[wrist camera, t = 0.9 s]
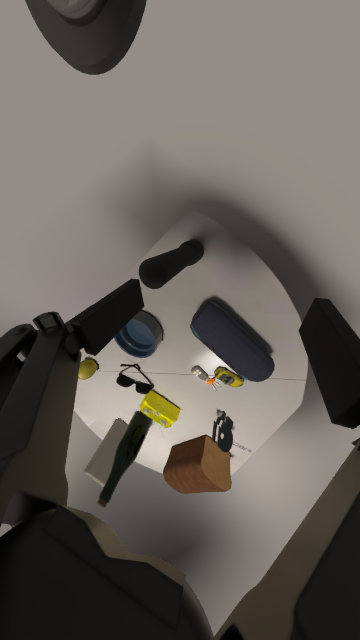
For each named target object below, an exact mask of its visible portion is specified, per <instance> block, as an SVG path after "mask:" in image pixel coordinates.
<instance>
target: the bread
mask: <svg viewBox="0 0 360 640" xmlns="http://www.w3.org/2000/svg"><path fill="white" fill-rule="evenodd" d="M163 475H164V479H165V481H166V482H167V483H168V484H169V485H170V486H171V487H172V488H173V489H175V490H177V491H178V492H180V493H185V494H187V493H200V492H224V491H227V490H229V489H231V476H230V453H229V452H226V453H225V452H223V451H221V449H220V448H219V447H218V446H217V443H216V442H215V443H214V442H213V441H212V439H211V438H210V437H208V436H202V437H199V438H196V439H193V440H190V441H188V442H184V443H181V444H179V445H176V446H173V447H172V448H171V452H170V455H169V458H168V460H167V463H166V465H165V467H164V470H163Z"/></svg>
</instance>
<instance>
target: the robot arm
mask: <svg viewBox="0 0 360 640" xmlns="http://www.w3.org/2000/svg"><path fill="white" fill-rule="evenodd" d="M47 1H48V3H49V4H50V5H51V6H52V7H53V9H54V10H55V11H56V12H57V13H58V15H59V16H60V17H61V18H63V19H64V20H65V21H66V22H68V23H70V24H72V25H76V26H83V25H87V24H89V23H90V22H92V21H93V20H94V19H95V18H96V17H97V16H98V15H99V14H100V12H101V11H102V9H103V8H104V6H105V4H106V2H107V0H47ZM143 307H144V303H143V297H142V292H141V287H140V282H139V279H130V280H129V281H127V282H126V283H125V284H123V285H122V286H120V287H119V288H117V289H116V290H114V291H113V292H111V293H110V294H108V295H107V296H105V297H104V298H102V299H101V300H99V301H98V302H97V303H95V304H94V305H92V306H90V307H88V308H87V309H86V310H84V311H83V312H81V313H80V314H78V315H77V316H75V317H74V318H72V319H71V320H69V321H68V322H66V323H65V324H64V322H63V320H62V319H61V317H60V315H59V314H58V313H57V312H48V313H43V314H41V315H39V316H37V317H36V318H34V319H33V322H34V323H35V325H36V326H37V328H38V329H39V330H35V328H34V327H33V326H32V325H31V324H23V325H19V326H16V327H14V328H12V329H11V330H9V331H8V332H7V333H6V334H4V335H3V336H2V337H1V338H0V526H1V523H3V524H9V525H11V526H12V529H11V530H9V531H8V532H6V533H5V534H4V535H2V536H1V537H0V640H360V438H359V439H357V440H356V441H354V442H352V444H353V445H356V446H355V447H354V449H353V450H352V452H351V453H350V454H349V456H348V457H347V459H346V460H345V462H344V463H343V464H342V466H341V467H340V469H339V470H338V472H337V473H336V474H335V476H334V477H333V479H332V480H331V482H330V483H329V484H328V486H327V487H326V489H325V490H324V491H323V493H322V495H321V496H320V497H319V499H318V500H317V502H316V503H315V504H314V506H313V507H312V509H311V510H310V512H309V513H308V514H307V516H306V517H305V519H304V520H303V521H302V523H301V524H300V526H299V527H298V529H297V530H296V531H295V533H294V534H293V536H292V537H291V539H290V540H289V541H288V543H287V544H286V546H285V547H284V549H283V550H282V551H281V553H280V554H279V556H278V557H277V559H276V560H275V561H274V563H273V564H272V566H271V567H270V569H269V570H268V571H267V573H266V574H265V576H264V577H263V578H262V580H261V581H260V582H259V583H258V584H257V586H255V587H254V588H253V589H251V590H250V591H249V592H248V593H247V594H246V595H245V596H244V597H243V598H242V599H241V601H240V602H239V603H238V605H237V606H236V607H235V609H234V610H233V612H232V613H231V614H230V616H229V617H228V619H227V620H226V621H225V623H224V624H223V625H222V627H221V628H220V630H219V631H218V633H217V634H216V635H215V637H214V636H213V633H212V630H211V627H210V625H209V622H208V619H207V617H206V614H205V612H204V610H203V608H202V606H201V604H200V602H199V600H198V598H197V596H196V595H195V593H194V591H193V590H192V588H191V587H190V586H189V584H188V583H187V582H186V581H185V577H186V575H185V574H184V573H182V572H181V571H179V570H177V569H176V568H174V567H173V566H171V565H170V564H168V563H166V562H165V561H163V560H162V559H160V558H158V557H151V556H143V555H136V554H131V553H129V552H128V551H127V550H126V548H125V547H124V546H123V544H122V543H121V541H120V540H119V538H118V537H117V536H116V534H115V532H114V531H113V529H112V528H111V527H110V526H109V525H107V524H106V523H104V522H103V521H101V520H100V519H98V518H96V517H95V516H93V515H92V514H90V513H87V512H84V511H80V510H77V509H74V508H70V507H67V498H68V482H67V478H66V475H65V463H66V457H67V450H68V443H69V435H70V429H71V422H72V414H73V409H74V402H75V395H76V388H77V381H78V375H79V368H80V361H81V352H80V350H81V349H82V348H84V349H85V351H86V353H87V354H91V355H94V356H96V355H97V354H98V353H99V352H100V351H101V350H102V349H103V348H104V347H105V346H106V345H107V344H108V343H109V342H110V341H111V340H112V339H113V338H114V337H115V336H116V335H117V334H118V333H119V332H120V331H121V330H122V329H123V327H124V326H125V325H126V324H127V323H128V322H129V321H130V320H131V319H132V318H133V317H134V316H135V315H136V314H137V313H138V312H139V311H140V310H141V309H142V308H143ZM299 333H300V336H301V339H302V342H303V344H304V347H305V350H306V353H307V355H308V358H309V361H310V364H311V366H312V369H313V372H314V375H315V378H316V380H317V383H318V386H319V389H320V392H321V394H322V397H323V400H324V403H325V405H326V408H327V411H328V414H329V417H330V419H331V422H332V423H334V424H337V425H341V426H344V427H348V428H351V429H354V428H356V427H357V426H359V425H360V339H359V338H358V336H357V335H356V334H355V332H354V331H353V330H352V328H351V327H350V326H349V324H348V323H347V322H346V320H345V319H344V318H343V317H342V315H341V314H340V313H339V312H338V310H337V309H336V308H335V306H334V305H333V304H332V302H331V301H330V300H329V299H321V298H315V299H314V301H313V303H312V305H311V307H310V309H309V311H308V313H307V315H306V317H305V319H304V321H303V323H302V325H301V327H300V329H299ZM19 352H21V354H22V355H23V356H24V357H25V358H26V359H25V360H24V361H23V362H22V361H20V359H19V358H18V357H17V355H18V353H19ZM184 583H185V584H184ZM183 589H184V590H183ZM182 595H183V596H182ZM181 601H182V602H181Z"/></svg>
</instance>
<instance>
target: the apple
mask: <svg viewBox="0 0 360 640" xmlns="http://www.w3.org/2000/svg"><path fill="white" fill-rule="evenodd" d="M96 369H97V365H96V363H95V362H94V361H93V360H84V361H82V362H80V368H79V375H78V378H79V379H81V380H85V379H88V378H90V377H91V376H92V375H93V374H94V373H95V371H96Z"/></svg>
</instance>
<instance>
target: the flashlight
mask: <svg viewBox="0 0 360 640" xmlns="http://www.w3.org/2000/svg"><path fill="white" fill-rule="evenodd" d="M203 252H204V250H203V246H202V244H201V243H200V242H199V241H197V240H190V241H187V242H184V243H183V244H181V245H180V247H179V248H177V249H174V250H171V251H169V252H166V253H163V254H160V255H158V256H155V257H152V258H149V259H147V260H145V261H143V262H142V263H141V265H140V267H139V276H140V279H141V281H142V282H143V284H144V285H146V286H147V287H149V288H151V289H158V288H160V287H162V286H163V285H164V284H166V283H167V282H168V281H169V280H170V279H172V278H173V277H174V276H175V275H177V274H178V273H179V272H180V271H182V270H183V269H184V268H185V267H187V266H190V265H193V264H195V263H196V262H197V261H199V260H200V259H201V257H202V256H203Z"/></svg>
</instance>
